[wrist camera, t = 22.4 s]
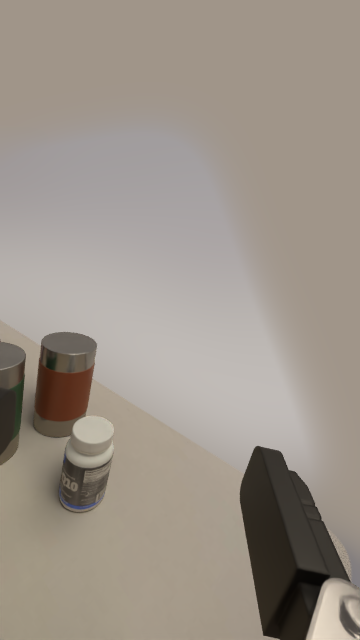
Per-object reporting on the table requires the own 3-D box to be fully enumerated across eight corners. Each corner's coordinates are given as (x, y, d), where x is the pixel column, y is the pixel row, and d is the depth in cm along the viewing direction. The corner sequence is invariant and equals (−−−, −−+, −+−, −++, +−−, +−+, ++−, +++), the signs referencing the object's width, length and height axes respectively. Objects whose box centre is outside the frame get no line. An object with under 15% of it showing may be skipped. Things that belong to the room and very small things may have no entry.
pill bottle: (52, 484, 31) (61, 419, 28) (94, 468, 34) (105, 408, 31) (67, 522, 27) (78, 452, 25) (112, 501, 30) (126, 436, 28)
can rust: (91, 411, 43) (104, 339, 40) (74, 442, 37) (86, 359, 33) (47, 401, 43) (56, 327, 40) (22, 431, 36) (29, 345, 33)
